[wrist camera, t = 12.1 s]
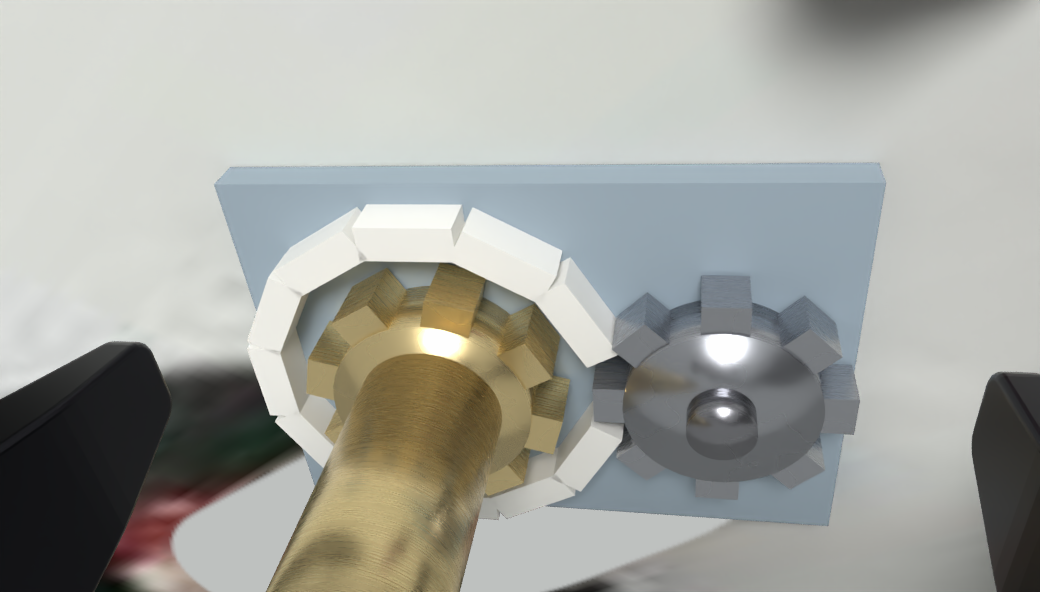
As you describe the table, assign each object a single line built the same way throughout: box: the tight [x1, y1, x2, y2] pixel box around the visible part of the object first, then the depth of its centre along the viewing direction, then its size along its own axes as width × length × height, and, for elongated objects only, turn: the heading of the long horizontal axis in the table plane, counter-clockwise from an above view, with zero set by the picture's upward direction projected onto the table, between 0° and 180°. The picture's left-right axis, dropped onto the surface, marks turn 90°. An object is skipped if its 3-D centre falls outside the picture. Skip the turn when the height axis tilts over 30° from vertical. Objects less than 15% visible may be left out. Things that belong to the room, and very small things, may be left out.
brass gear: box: [266, 262, 570, 592], centre depth 20 cm, size 7×7×13 cm
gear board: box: [214, 163, 886, 526], centre depth 25 cm, size 17×12×2 cm
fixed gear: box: [592, 275, 860, 500], centre depth 23 cm, size 7×7×2 cm
